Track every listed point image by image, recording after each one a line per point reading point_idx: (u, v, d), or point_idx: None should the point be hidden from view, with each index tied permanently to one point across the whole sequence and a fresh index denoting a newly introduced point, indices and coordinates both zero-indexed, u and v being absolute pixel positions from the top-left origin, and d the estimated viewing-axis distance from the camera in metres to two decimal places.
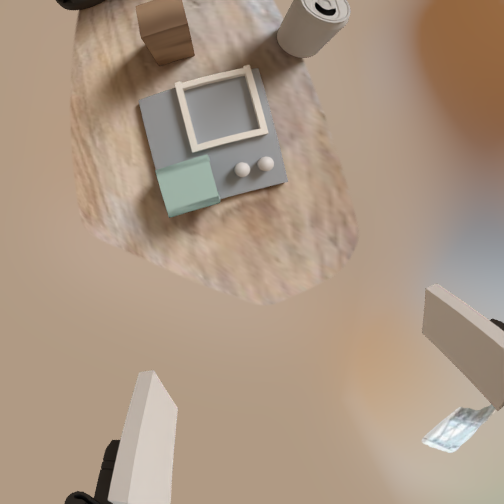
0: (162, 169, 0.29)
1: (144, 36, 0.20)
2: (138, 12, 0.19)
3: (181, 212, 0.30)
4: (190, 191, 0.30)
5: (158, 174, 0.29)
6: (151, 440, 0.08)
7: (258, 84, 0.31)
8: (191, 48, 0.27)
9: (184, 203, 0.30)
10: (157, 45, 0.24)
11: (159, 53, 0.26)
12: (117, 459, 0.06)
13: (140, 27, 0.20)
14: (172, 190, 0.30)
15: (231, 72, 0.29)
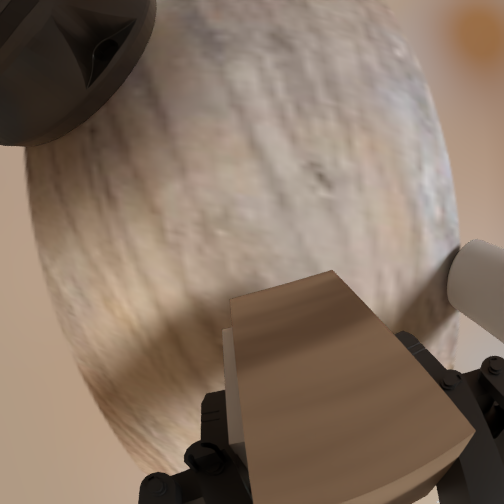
0: None
1: None
2: None
3: None
4: None
5: None
6: None
7: None
8: None
9: None
10: None
11: None
12: (227, 403, 0.08)
13: None
14: None
15: None
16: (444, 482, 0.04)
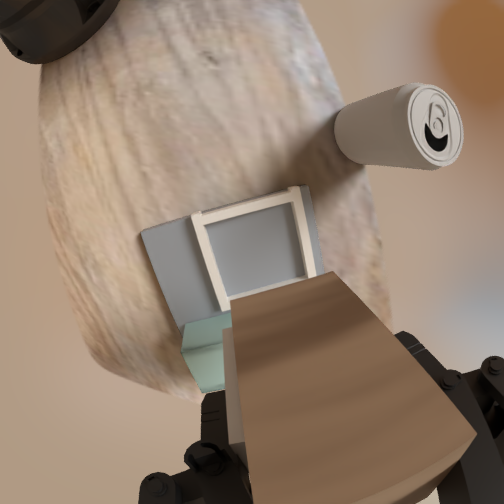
0: (190, 351, 0.23)
1: None
2: None
3: (216, 389, 0.25)
4: None
5: (185, 356, 0.23)
6: None
7: (308, 212, 0.26)
8: None
9: (219, 382, 0.25)
10: None
11: None
12: (228, 403, 0.08)
13: None
14: (204, 371, 0.24)
15: (273, 200, 0.24)
16: (444, 482, 0.04)
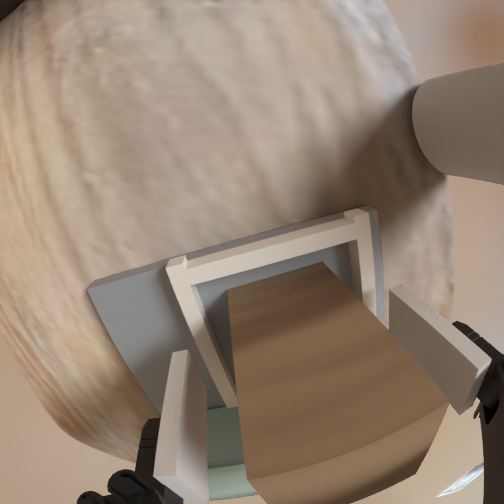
0: None
1: None
2: (267, 493, 0.05)
3: (221, 498, 0.14)
4: (235, 487, 0.13)
5: None
6: (190, 415, 0.09)
7: (373, 254, 0.14)
8: None
9: (226, 494, 0.13)
10: None
11: None
12: (160, 434, 0.07)
13: None
14: None
15: (323, 238, 0.12)
16: (493, 462, 0.04)
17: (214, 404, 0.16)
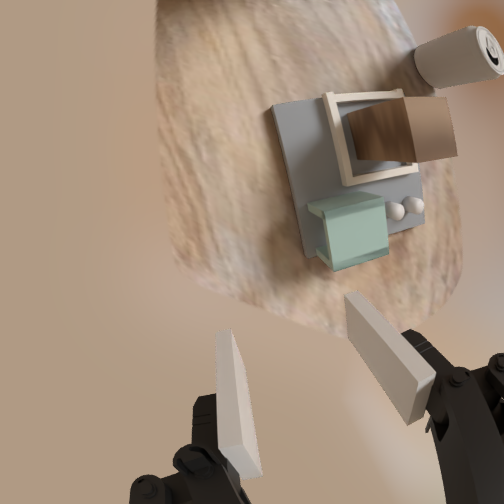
0: (333, 211, 0.23)
1: (419, 161, 0.17)
2: (408, 111, 0.16)
3: (348, 265, 0.24)
4: (361, 240, 0.24)
5: (328, 217, 0.23)
6: (241, 389, 0.10)
7: None
8: None
9: (353, 254, 0.24)
10: None
11: None
12: (218, 407, 0.08)
13: (415, 143, 0.17)
14: (342, 239, 0.24)
15: (386, 94, 0.23)
16: (451, 479, 0.04)
17: (334, 193, 0.27)
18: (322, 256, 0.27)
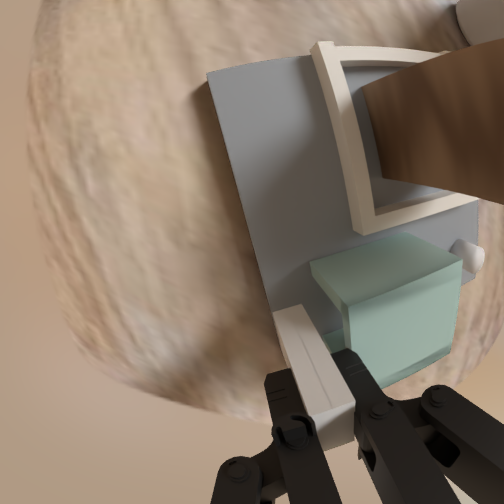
0: (368, 303, 0.10)
1: None
2: None
3: (382, 386, 0.11)
4: (412, 345, 0.11)
5: (355, 317, 0.10)
6: None
7: None
8: None
9: (394, 370, 0.11)
10: None
11: None
12: (298, 379, 0.09)
13: None
14: (378, 351, 0.10)
15: (430, 56, 0.10)
16: None
17: (337, 247, 0.14)
18: None
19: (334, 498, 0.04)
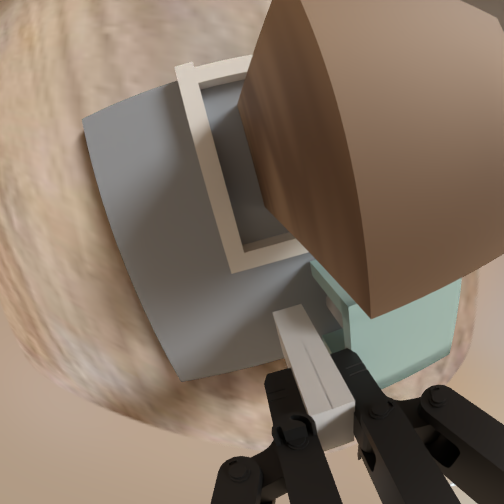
0: None
1: (390, 305, 0.04)
2: (328, 30, 0.02)
3: (381, 387, 0.11)
4: (412, 345, 0.11)
5: (355, 317, 0.10)
6: None
7: None
8: None
9: (393, 370, 0.11)
10: None
11: None
12: (298, 379, 0.09)
13: (371, 217, 0.03)
14: (378, 351, 0.10)
15: None
16: None
17: (214, 282, 0.14)
18: None
19: (334, 498, 0.04)
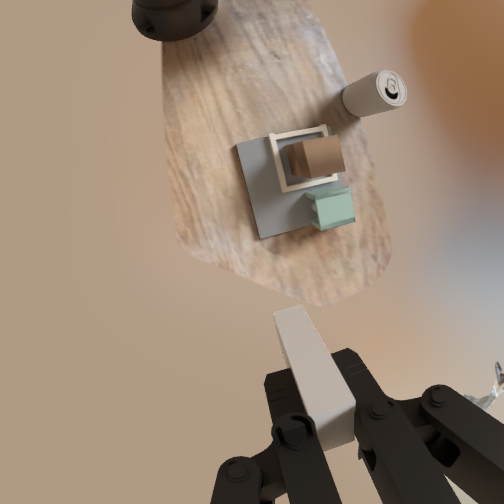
0: (320, 195, 0.41)
1: (313, 177, 0.35)
2: (306, 149, 0.33)
3: (330, 227, 0.42)
4: (337, 212, 0.42)
5: (317, 198, 0.41)
6: None
7: None
8: None
9: (333, 221, 0.42)
10: None
11: None
12: (298, 379, 0.09)
13: (309, 167, 0.34)
14: (325, 211, 0.41)
15: (312, 129, 0.41)
16: None
17: (276, 197, 0.45)
18: (315, 223, 0.45)
19: (334, 498, 0.04)
